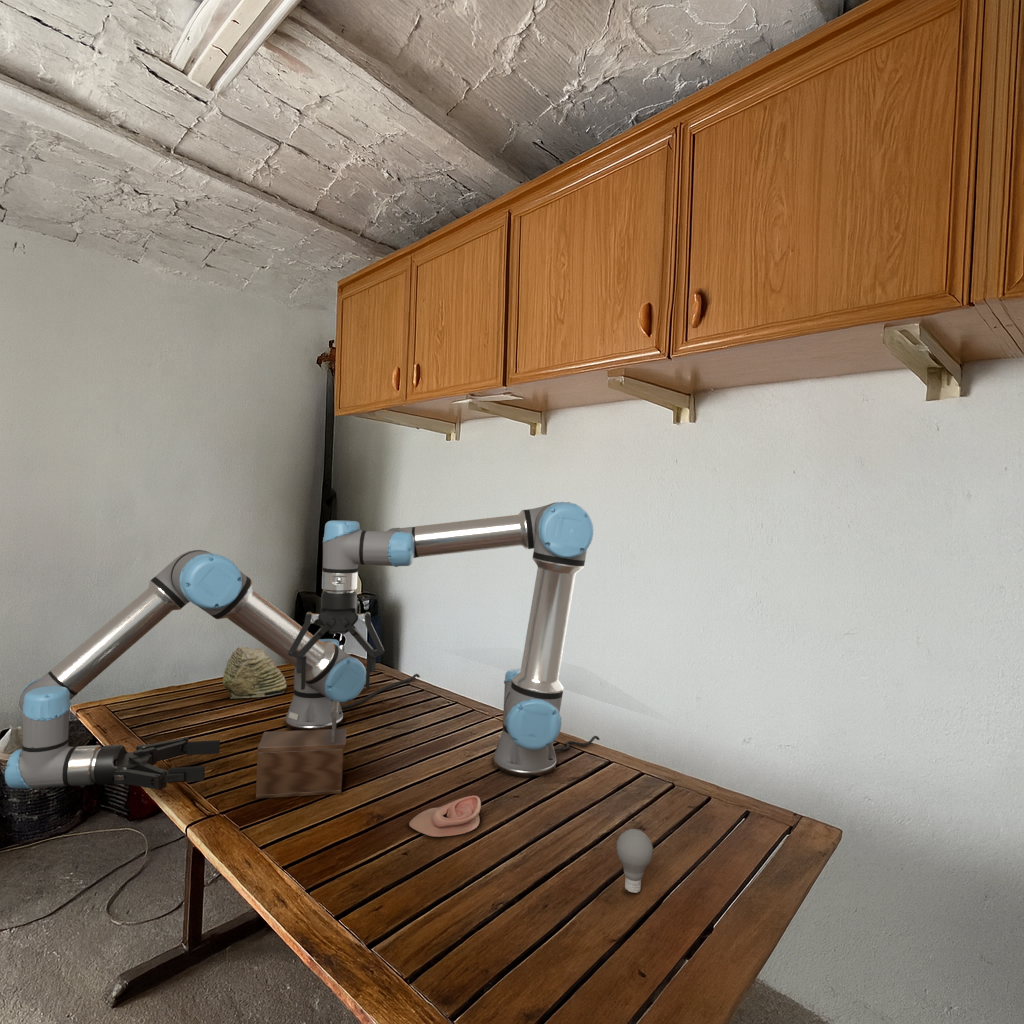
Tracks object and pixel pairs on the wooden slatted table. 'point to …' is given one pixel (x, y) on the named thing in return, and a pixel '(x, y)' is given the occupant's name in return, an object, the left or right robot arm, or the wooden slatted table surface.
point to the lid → (305, 738)
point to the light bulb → (634, 857)
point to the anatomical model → (449, 818)
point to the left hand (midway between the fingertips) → (212, 759)
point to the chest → (299, 773)
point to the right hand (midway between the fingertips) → (335, 687)
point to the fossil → (252, 674)
